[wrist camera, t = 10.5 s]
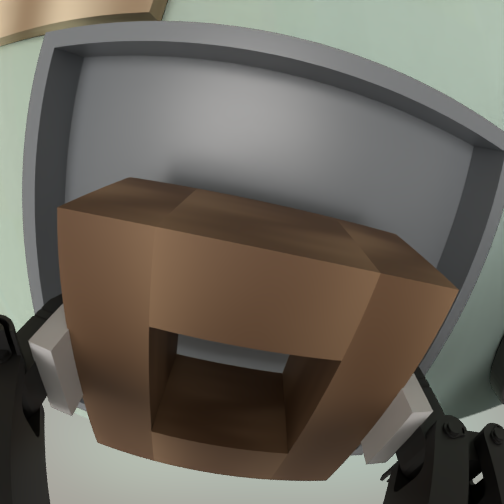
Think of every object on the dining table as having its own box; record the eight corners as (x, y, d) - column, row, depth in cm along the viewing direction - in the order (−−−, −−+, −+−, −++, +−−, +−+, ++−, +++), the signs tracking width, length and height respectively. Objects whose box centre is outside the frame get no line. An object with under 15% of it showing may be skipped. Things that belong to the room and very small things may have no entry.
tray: (479, 136, 11) (518, 142, 8) (353, 422, 18) (361, 454, 15) (81, 45, 10) (45, 32, 7) (77, 371, 17) (59, 400, 14)
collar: (395, 234, 9) (458, 289, 6) (315, 410, 13) (326, 480, 9) (129, 176, 9) (57, 207, 5) (127, 376, 12) (97, 442, 9)
